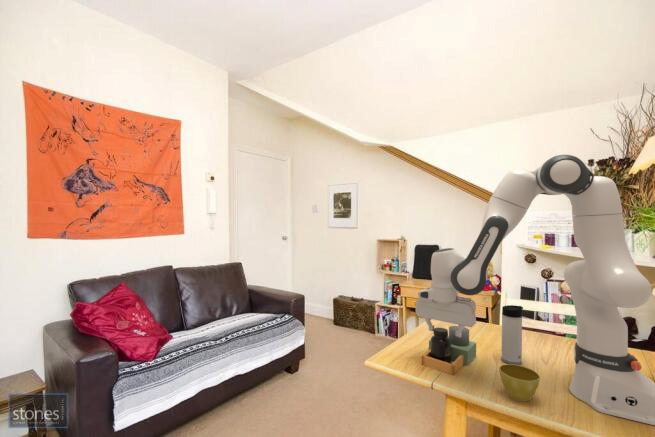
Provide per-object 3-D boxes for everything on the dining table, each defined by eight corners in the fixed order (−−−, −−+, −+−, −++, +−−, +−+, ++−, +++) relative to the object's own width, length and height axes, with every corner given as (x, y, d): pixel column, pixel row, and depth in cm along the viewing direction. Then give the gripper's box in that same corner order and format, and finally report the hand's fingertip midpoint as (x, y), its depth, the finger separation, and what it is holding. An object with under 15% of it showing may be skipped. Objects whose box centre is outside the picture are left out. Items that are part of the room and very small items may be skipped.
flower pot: (502, 383, 98) (502, 360, 98) (541, 395, 92) (541, 370, 91) (495, 397, 90) (495, 372, 90) (537, 411, 84) (537, 385, 84)
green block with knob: (476, 356, 117) (476, 329, 117) (467, 365, 109) (468, 337, 109) (438, 345, 126) (439, 321, 126) (428, 353, 119) (429, 327, 119)
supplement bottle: (447, 359, 114) (448, 326, 114) (453, 368, 107) (454, 333, 107) (428, 358, 115) (428, 326, 115) (433, 367, 108) (433, 332, 108)
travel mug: (525, 366, 109) (526, 309, 109) (504, 364, 111) (505, 307, 110) (518, 358, 115) (519, 304, 115) (498, 356, 117) (499, 303, 117)
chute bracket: (463, 364, 110) (463, 355, 110) (453, 375, 103) (453, 365, 103) (432, 355, 118) (432, 347, 118) (421, 364, 110) (421, 356, 110)
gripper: (478, 297, 106) (478, 338, 106) (420, 288, 119) (421, 325, 119) (472, 301, 101) (473, 343, 101) (413, 291, 115) (413, 329, 115)
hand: (444, 333), depth 110 cm, fingers open, 8 cm apart
